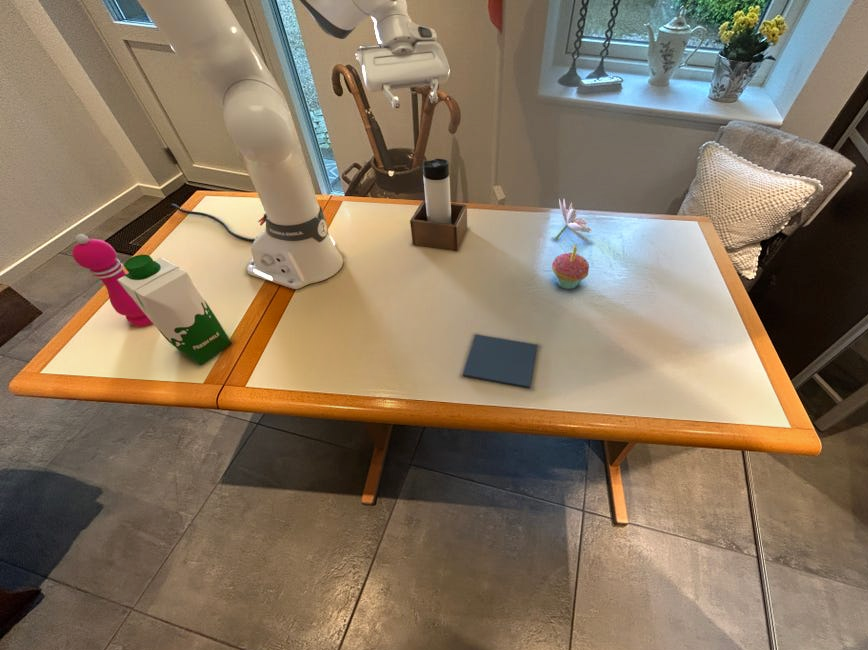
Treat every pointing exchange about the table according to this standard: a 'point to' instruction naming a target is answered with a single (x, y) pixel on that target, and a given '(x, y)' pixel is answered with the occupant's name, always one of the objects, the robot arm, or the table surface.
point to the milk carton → (174, 307)
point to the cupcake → (570, 269)
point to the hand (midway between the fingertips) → (416, 104)
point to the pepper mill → (108, 276)
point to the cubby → (439, 228)
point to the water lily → (573, 222)
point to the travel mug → (437, 190)
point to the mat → (501, 361)
